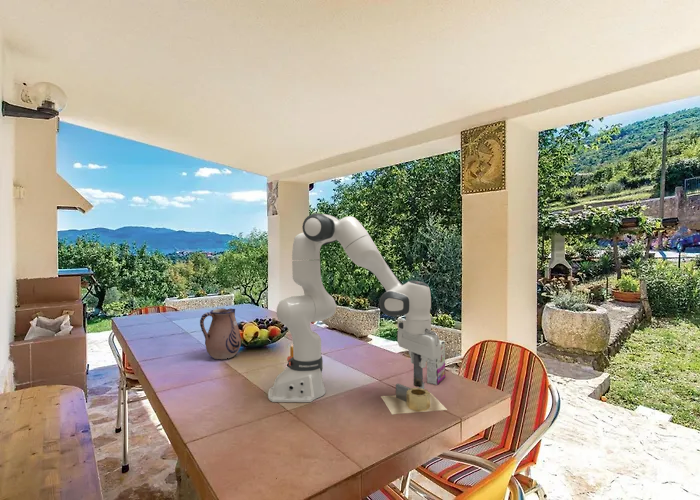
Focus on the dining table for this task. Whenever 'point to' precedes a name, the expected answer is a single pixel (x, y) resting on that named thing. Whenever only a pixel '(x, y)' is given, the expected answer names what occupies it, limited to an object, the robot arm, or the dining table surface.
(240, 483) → the dining table surface
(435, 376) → the candy bar box
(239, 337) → the ceramic pitcher
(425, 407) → the hinge leaves
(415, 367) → the hinge pin
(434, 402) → the oak board
